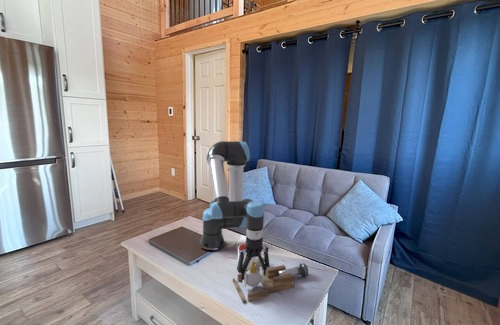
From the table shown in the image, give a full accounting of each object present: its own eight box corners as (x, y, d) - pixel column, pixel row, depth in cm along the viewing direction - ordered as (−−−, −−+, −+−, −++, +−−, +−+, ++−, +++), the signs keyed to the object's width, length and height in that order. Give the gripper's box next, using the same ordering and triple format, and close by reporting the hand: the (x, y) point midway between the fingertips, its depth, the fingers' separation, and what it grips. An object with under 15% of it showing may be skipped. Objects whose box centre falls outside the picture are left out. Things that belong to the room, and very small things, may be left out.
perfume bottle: (241, 286, 108) (241, 261, 106) (252, 274, 116) (252, 252, 114) (255, 292, 104) (256, 267, 102) (265, 280, 112) (266, 257, 111)
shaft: (275, 277, 117) (276, 266, 116) (301, 271, 122) (302, 261, 121) (281, 285, 112) (282, 273, 111) (308, 278, 117) (308, 267, 116)
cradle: (232, 281, 114) (232, 271, 113) (280, 270, 123) (281, 261, 123) (242, 303, 100) (243, 292, 99) (296, 289, 109) (296, 279, 108)
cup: (254, 272, 121) (255, 254, 120) (235, 269, 123) (235, 251, 122) (257, 261, 131) (258, 244, 129) (240, 259, 133) (240, 242, 131)
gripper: (234, 244, 99) (234, 293, 102) (278, 237, 106) (276, 283, 110) (230, 236, 106) (229, 282, 109) (271, 230, 113) (269, 273, 116)
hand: (252, 283), depth 109 cm, fingers closed on perfume bottle, 8 cm apart
